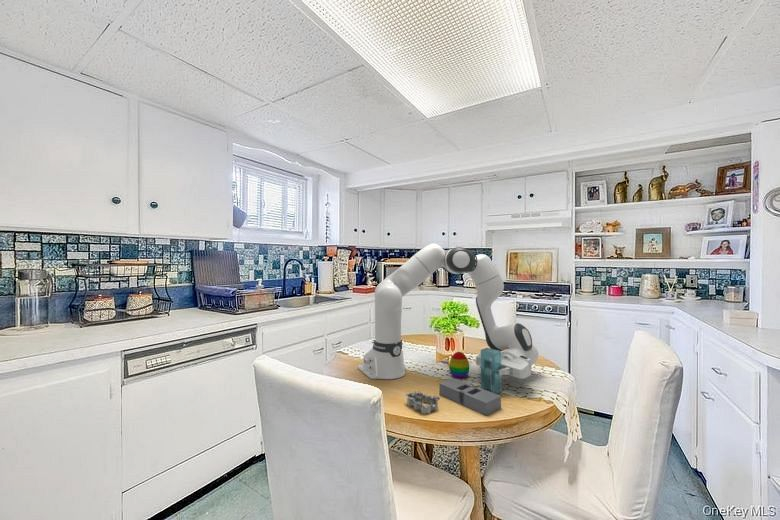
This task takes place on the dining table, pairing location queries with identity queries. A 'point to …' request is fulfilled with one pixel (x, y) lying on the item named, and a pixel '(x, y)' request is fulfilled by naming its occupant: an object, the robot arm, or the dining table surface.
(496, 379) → the clip
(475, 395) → the grey slotted block
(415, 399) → the egg carton
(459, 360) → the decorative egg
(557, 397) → the dining table surface
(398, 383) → the dining table surface
